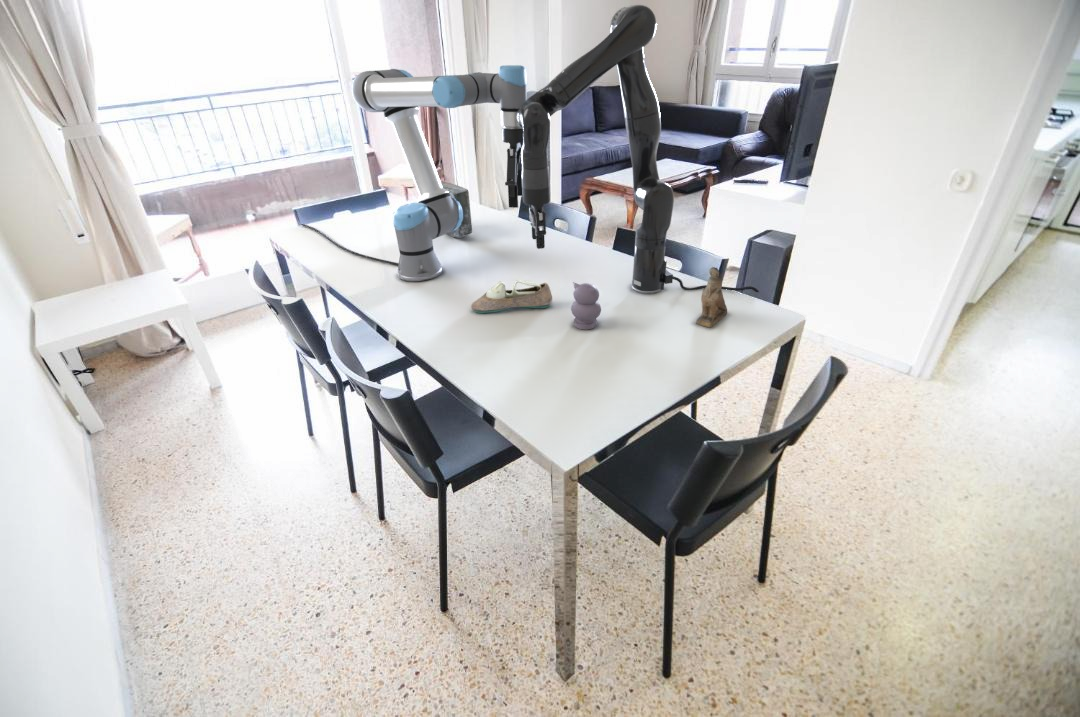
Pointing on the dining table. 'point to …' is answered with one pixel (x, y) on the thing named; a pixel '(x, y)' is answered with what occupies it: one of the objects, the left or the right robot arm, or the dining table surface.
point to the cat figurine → (585, 306)
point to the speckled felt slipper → (513, 297)
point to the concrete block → (463, 199)
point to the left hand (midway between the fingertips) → (517, 201)
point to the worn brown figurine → (712, 301)
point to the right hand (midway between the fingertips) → (538, 243)
